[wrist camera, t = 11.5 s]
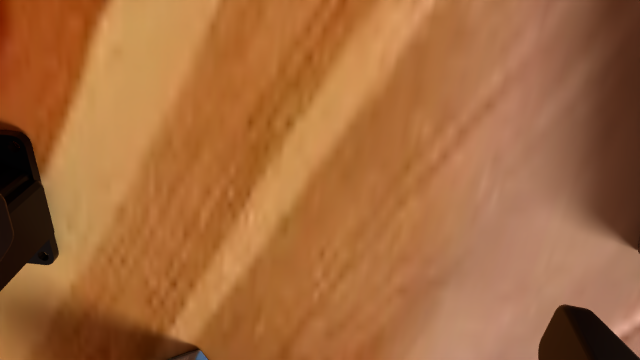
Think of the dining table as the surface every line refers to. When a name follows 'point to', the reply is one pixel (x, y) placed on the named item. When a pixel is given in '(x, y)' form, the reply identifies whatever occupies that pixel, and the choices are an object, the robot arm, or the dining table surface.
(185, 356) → the blue hang tab box
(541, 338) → the robot arm
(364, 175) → the dining table surface
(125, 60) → the dining table surface
